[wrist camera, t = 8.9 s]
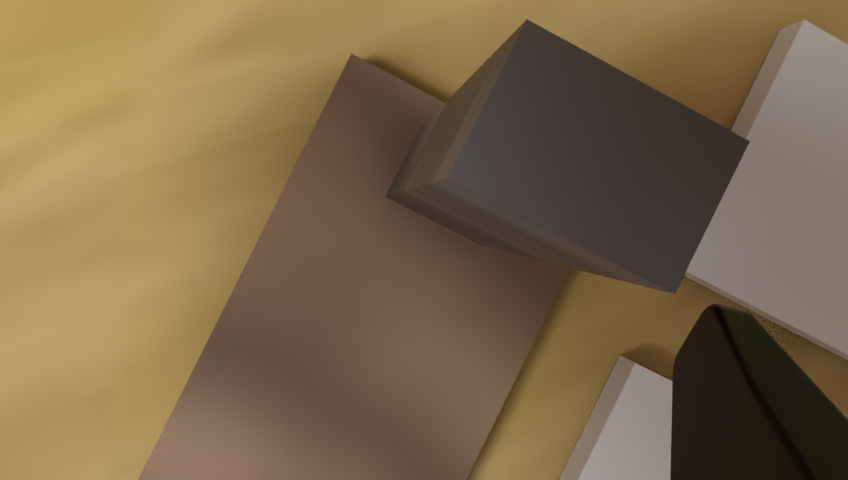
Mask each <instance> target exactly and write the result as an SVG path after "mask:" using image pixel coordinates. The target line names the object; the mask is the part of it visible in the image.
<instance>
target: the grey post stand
mask: <svg viewBox="0 0 848 480" xmlns="http://www.w3.org/2000/svg"><path fill="white" fill-rule="evenodd" d="M749 142H750V141H748V140H747V139H745V138H743V137H741V136H739V135H737V134H736V133H734V132H732V131H730V130H728V129H726V128H725V127H723V126H721V125H719V124H717V123H715V122H714V121H712V120H710V119H708V118H706V117H705V116H703V115H701V114H699V113H697V112H695V111H694V110H692V109H690V108H688V107H686V106H684V105H683V104H681V103H679V102H677V101H675V100H673V99H672V98H670V97H668V96H666V95H664V94H662V93H661V92H659V91H657V90H655V89H653V88H651V87H650V86H648V85H646V84H644V83H642V82H640V81H639V80H637V79H635V78H633V77H631V76H630V75H628V74H626V73H624V72H622V71H620V70H619V69H617V68H615V67H613V66H611V65H609V64H608V63H606V62H604V61H602V60H600V59H598V58H597V57H595V56H593V55H591V54H589V53H587V52H586V51H584V50H582V49H580V48H578V47H576V46H575V45H573V44H571V43H569V42H567V41H565V40H564V39H562V38H560V37H558V36H556V35H555V34H553V33H551V32H549V31H547V30H545V29H544V28H542V27H540V26H538V25H536V24H534V23H533V22H531V21H529V20H526V21H525V22H524V23H523V24H522V25H521V26H520V27H519V28H518V29H517V30H516V31H515V32H514V33H513V34H512V35H511V36H510V37H509V38H508V39H507V40H506V41H505V42H504V43H503V44H502V46H501V47H500V48H499V49H498V50H497V51H496V52H495V53H494V54H493V55H492V56H491V57H490V58H489V59H488V60H487V61H486V62H485V63H484V64H483V65H482V66H481V67H480V68H479V69H478V70H477V71H476V72H475V73H474V74H473V75H472V76H471V77H470V78H469V79H468V80H467V81H466V82H465V83H464V84H463V85H462V86H461V87H460V88H459V89H458V90H457V91H456V92H455V93H454V94H453V95H452V97H451V98H450V99H449V100H448V101H447V102H446V103H445V102H443V101H441V100H439V99H437V98H435V97H433V96H431V95H429V94H427V93H425V92H424V91H422V90H420V89H418V88H416V87H414V86H412V85H410V84H408V83H406V82H404V81H403V80H401V79H399V78H397V77H395V76H393V75H391V74H389V73H387V72H385V71H384V70H382V69H380V68H378V67H376V66H374V65H372V64H370V63H368V62H366V61H364V60H363V59H361V58H359V57H357V56H355V55H353V54H351V56H350V58H349V60H348V62H347V64H346V66H345V68H344V70H343V72H342V74H341V76H340V78H339V80H338V82H337V84H336V86H335V88H334V90H333V92H332V94H331V96H330V98H329V100H328V102H327V104H326V106H325V108H324V110H323V112H322V114H321V116H320V118H319V120H318V122H317V124H316V126H315V128H314V130H313V132H312V134H311V136H310V138H309V140H308V142H307V144H306V146H305V148H304V150H303V152H302V154H301V156H300V158H299V160H298V162H297V164H296V166H295V168H294V170H293V172H292V174H291V176H290V178H289V180H288V182H287V184H286V186H285V188H284V190H283V192H282V194H281V196H280V198H279V200H278V202H277V204H276V206H275V208H274V210H273V212H272V214H271V216H270V218H269V220H268V222H267V224H266V226H265V228H264V230H263V232H262V234H261V236H260V238H259V240H258V242H257V244H256V246H255V248H254V250H253V252H252V254H251V256H250V258H249V260H248V262H247V264H246V266H245V268H244V270H243V272H242V274H241V276H240V278H239V280H238V282H237V284H236V286H235V288H234V290H233V292H232V294H231V296H230V298H229V300H228V302H227V304H226V306H225V308H224V310H223V312H222V314H221V316H220V318H219V320H218V322H217V324H216V326H215V328H214V330H213V332H212V334H211V336H210V338H209V340H208V342H207V344H206V346H205V348H204V350H203V352H202V354H201V356H200V358H199V360H198V362H197V364H196V366H195V368H194V370H193V372H192V374H191V376H190V378H189V380H188V382H187V384H186V386H185V388H184V390H183V392H182V394H181V396H180V398H179V400H178V402H177V404H176V406H175V408H174V410H173V412H172V414H171V416H170V418H169V420H168V422H167V424H166V426H165V428H164V430H163V432H162V434H161V436H160V438H159V440H158V442H157V444H156V446H155V448H154V450H153V452H152V454H151V456H150V458H149V460H148V462H147V464H146V466H145V468H144V470H143V472H142V474H141V476H140V477H139V479H138V480H466V479H467V477H468V475H469V473H470V471H471V469H472V467H473V465H474V463H475V461H476V459H477V457H478V455H479V453H480V451H481V449H482V447H483V445H484V443H485V441H486V439H487V437H488V435H489V433H490V431H491V429H492V427H493V425H494V423H495V421H496V418H497V416H498V414H499V412H500V410H501V408H502V406H503V404H504V402H505V400H506V398H507V396H508V394H509V392H510V390H511V388H512V386H513V384H514V382H515V380H516V378H517V376H518V374H519V372H520V370H521V368H522V366H523V364H524V362H525V360H526V358H527V356H528V354H529V352H530V350H531V348H532V346H533V344H534V342H535V339H536V337H537V335H538V333H539V331H540V329H541V327H542V325H543V323H544V321H545V319H546V317H547V315H548V313H549V311H550V309H551V307H552V305H553V303H554V301H555V299H556V297H557V295H558V293H559V291H560V289H561V287H562V285H563V283H564V281H565V279H566V277H567V275H568V273H569V271H570V269H571V268H574V269H578V270H582V271H586V272H590V273H594V274H597V275H601V276H605V277H609V278H613V279H617V280H621V281H625V282H629V283H633V284H637V285H641V286H645V287H649V288H653V289H657V290H661V291H665V292H669V293H673V294H675V293H676V291H677V289H678V287H679V285H680V283H681V281H682V279H683V277H684V274H685V272H686V270H687V268H688V266H689V264H690V262H691V260H692V258H693V256H694V254H695V252H696V250H697V248H698V246H699V244H700V242H701V240H702V238H703V236H704V234H705V232H706V230H707V228H708V226H709V224H710V222H711V220H712V218H713V215H714V213H715V211H716V209H717V207H718V205H719V203H720V201H721V199H722V197H723V195H724V193H725V191H726V189H727V187H728V185H729V183H730V181H731V179H732V177H733V175H734V173H735V171H736V169H737V167H738V165H739V163H740V161H741V158H742V156H743V154H744V152H745V150H746V148H747V146H748V144H749Z"/></svg>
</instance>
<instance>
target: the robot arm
mask: <svg viewBox="0 0 848 480" xmlns="http://www.w3.org/2000/svg"><path fill="white" fill-rule="evenodd" d="M670 480H848V419H847V418H846V417H845V416H844V415H843V414H842V413H841V412H840V411H839V409H838V408H837V407H836V406H835V405H834V404H833V403H832V402H831V401H830V400H829V399H828V397H827V396H826V395H825V394H824V393H823V392H822V391H821V390H820V389H819V388H818V387H817V385H816V384H815V383H814V382H813V381H812V380H811V379H810V378H809V377H808V376H807V374H806V373H805V372H804V371H803V370H802V369H801V368H800V367H799V366H798V365H797V364H796V362H795V361H794V360H793V359H792V358H791V357H790V356H789V355H788V354H787V353H786V352H785V350H784V349H783V348H782V347H781V346H780V345H779V344H778V343H777V342H776V341H775V340H774V338H773V337H772V336H771V335H770V334H769V333H768V332H767V331H766V330H765V329H764V328H763V326H762V325H761V324H760V323H759V322H758V321H757V320H756V319H755V318H754V317H753V316H752V315H751V314H750V313H748V312H746V311H744V310H740V309H736V308H732V307H728V306H723V305H719V304H713V305H710V306H708V307H707V308H706V309H705V310H704V311H703V313H702V314H701V316H700V317H699V319H698V321H697V322H696V324H695V325H694V327H693V329H692V330H691V332H690V334H689V335H688V337H687V339H686V340H685V342H684V343H683V345H682V347H681V348H680V350H679V352H678V354H677V356H676V359H675V363H674V367H673V384H672V426H671V469H670Z"/></svg>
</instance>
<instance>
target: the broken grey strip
mask: <svg viewBox="0 0 848 480" xmlns="http://www.w3.org/2000/svg"><path fill="white" fill-rule="evenodd" d="M730 131H732V132H734V133H736V134H737V135H739V136H741V137H743V138H745V139H747V140H748V141H750V142H749V144H748V146H747V148H746V150H745V152H744V154H743V156H742V158H741V161H740V163H739V165H738V167H737V169H736V171H735V173H734V175H733V177H732V179H731V181H730V183H729V185H728V187H727V189H726V191H725V193H724V195H723V197H722V199H721V201H720V203H719V205H718V207H717V209H716V211H715V213H714V215H713V218H712V220H711V222H710V224H709V226H708V228H707V230H706V232H705V234H704V236H703V238H702V240H701V242H700V244H699V246H698V248H697V250H696V252H695V254H694V256H693V258H692V260H691V262H690V264H689V266H688V268H687V270H686V272H685V274H684V276H685V277H687V278H688V279H690V280H692V281H694V282H696V283H698V284H700V285H702V286H704V287H706V288H708V289H710V290H712V291H714V292H716V293H718V294H719V295H721V296H723V297H725V298H727V299H729V300H731V301H733V302H735V303H737V304H739V305H741V306H743V307H745V308H747V309H749V310H751V311H752V312H754V313H756V314H758V315H760V316H762V317H764V318H766V319H768V320H770V321H772V322H774V323H776V324H778V325H780V326H782V327H783V328H785V329H787V330H789V331H791V332H793V333H795V334H797V335H799V336H801V337H803V338H805V339H807V340H809V341H811V342H813V343H814V344H816V345H818V346H820V347H822V348H824V349H826V350H828V351H830V352H832V353H834V354H836V355H838V356H840V357H842V358H844V359H845V360H847V361H848V44H846V43H845V42H843V41H841V40H839V39H838V38H836V37H834V36H832V35H831V34H829V33H827V32H825V31H824V30H822V29H820V28H818V27H817V26H815V25H813V24H811V23H810V22H808V21H806V20H802V21H799V22H797V23H794V24H792V25H789V26H787V27H785V28H782V29H780V31H779V33H778V35H777V37H776V39H775V41H774V43H773V45H772V47H771V49H770V51H769V53H768V55H767V57H766V59H765V61H764V63H763V65H762V67H761V69H760V71H759V73H758V76H757V78H756V80H755V82H754V84H753V86H752V88H751V90H750V92H749V94H748V96H747V98H746V100H745V102H744V104H743V106H742V108H741V110H740V112H739V114H738V116H737V118H736V120H735V122H734V124H733V126H732V128H731V130H730ZM672 384H673V381H671V380H669V379H667V378H665V377H663V376H661V375H659V374H657V373H655V372H653V371H651V370H649V369H647V368H645V367H643V366H641V365H639V364H637V363H635V362H633V361H631V360H629V359H627V358H625V357H623V356H621V355H620V356H619V358H618V360H617V362H616V364H615V366H614V368H613V370H612V372H611V374H610V376H609V378H608V380H607V382H606V385H605V387H604V389H603V391H602V393H601V395H600V397H599V399H598V401H597V403H596V405H595V407H594V409H593V411H592V413H591V415H590V417H589V419H588V421H587V423H586V425H585V427H584V429H583V431H582V433H581V435H580V437H579V439H578V441H577V443H576V446H575V448H574V450H573V452H572V454H571V456H570V458H569V460H568V462H567V464H566V466H565V468H564V470H563V472H562V474H561V476H560V478H559V480H670V469H671V426H672Z"/></svg>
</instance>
